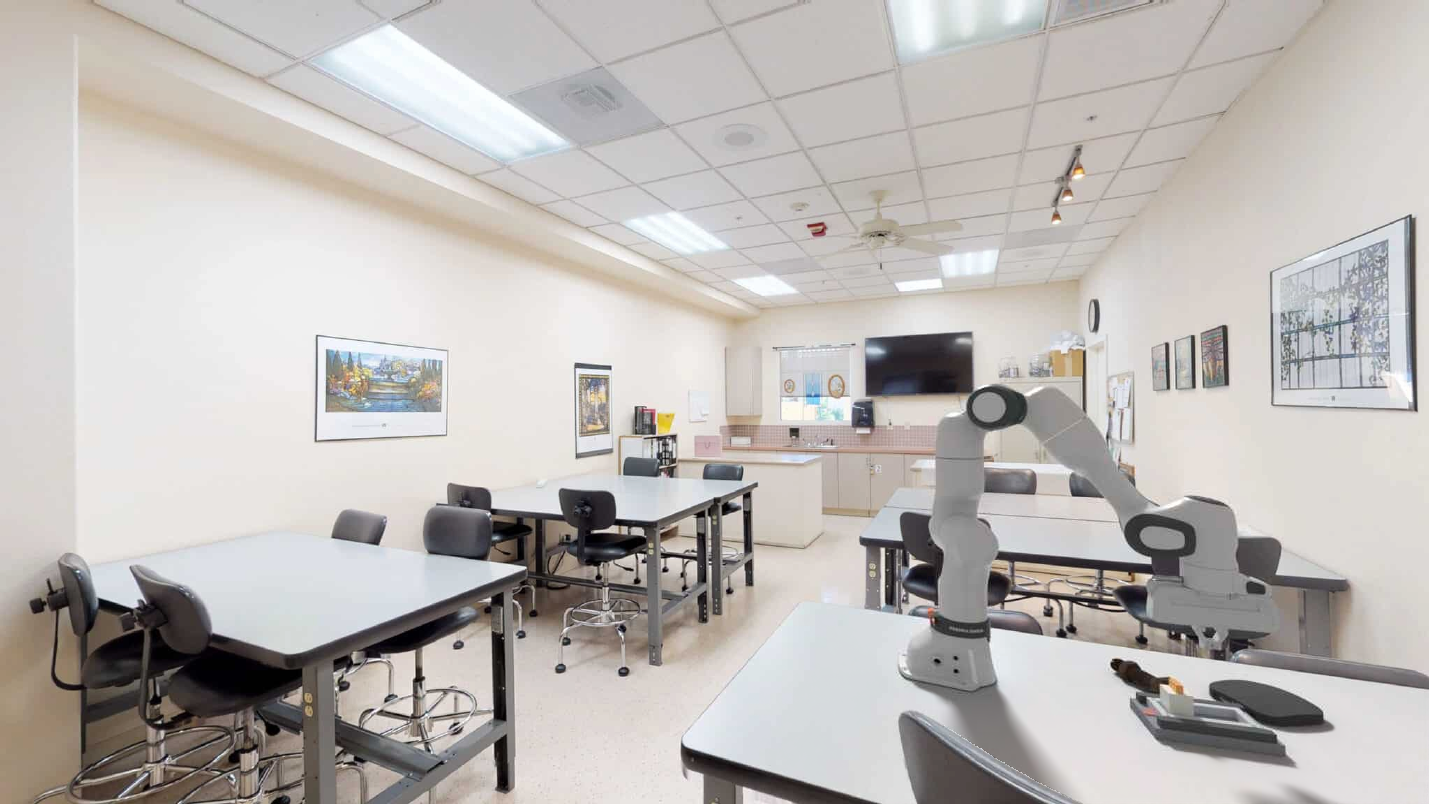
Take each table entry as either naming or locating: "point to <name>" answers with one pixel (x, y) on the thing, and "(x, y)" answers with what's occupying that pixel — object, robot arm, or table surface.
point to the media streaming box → (1267, 703)
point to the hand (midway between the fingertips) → (1210, 648)
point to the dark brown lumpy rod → (1138, 675)
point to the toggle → (1176, 699)
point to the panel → (1206, 738)
